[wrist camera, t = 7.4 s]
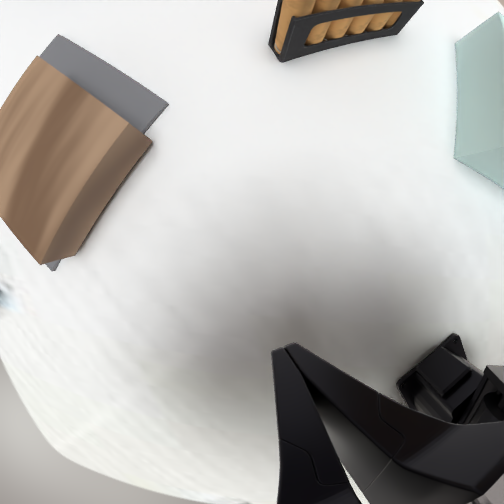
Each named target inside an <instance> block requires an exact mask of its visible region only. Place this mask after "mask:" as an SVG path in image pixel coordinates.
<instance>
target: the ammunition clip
mask: <svg viewBox="0 0 504 504" xmlns="http://www.w3.org/2000/svg"><path fill="white" fill-rule="evenodd" d="M423 4H424V2H423V1H422V0H278V3H277V7H276V12H275V16H274V21H273V25H272V30H271V34H270V39H269V45H270V47H271V48H272V50H273V51H274V53H275V54H276V56H277V58H278V59H279V61H280V62H286V61H289V60H292V59H295V58H298V57H302V56H305V55H308V54H312V53H315V52H319V51H322V50H326V49H330V48H334V47H338V46H342V45H346V44H350V43H355V42H359V41H364V40H369V39H374V38H380V37H385V36H391V35H397V34H398V33H399V32H400V31H401V29H402V28H403V27H404V26H405V25H406V23H407V22H408V21H409V20H410V19H411V18H412V16H413V15H414V14H415V13H416V12H417V11H418V9H419V8H420V7H421V6H422V5H423Z"/></svg>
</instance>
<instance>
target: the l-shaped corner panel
mask: <svg viewBox="0 0 504 504" xmlns="http://www.w3.org/2000/svg"><path fill="white" fill-rule="evenodd" d="M455 49H456V64H457V122H456V138H455V150H454V159H456V160H458V161H460V162H461V163H463V164H465V165H466V166H468V167H470V168H472V169H473V170H475V171H477V172H478V173H480V174H481V175H483V176H485V177H486V178H488V179H489V180H491V181H492V182H494V183H495V184H497V185H498V186H500V187H501V188H503V189H504V16H503V15H502V14H501V13H499V12H497V13H496V14H495V15H493V16H492V17H490V18H489V19H488V20H486V21H485V22H483V23H482V24H481V25H479V26H478V27H476V28H475V29H474V30H472V31H471V32H470V33H468V34H467V35H466V36H464V37H463V38H462V39H460V40H459V41H458V42H456V43H455Z"/></svg>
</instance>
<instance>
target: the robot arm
mask: <svg viewBox="0 0 504 504" xmlns="http://www.w3.org/2000/svg"><path fill="white" fill-rule="evenodd" d="M454 339H455V340H454ZM271 357H272V368H273V379H274V391H275V403H276V415H277V427H278V439H279V456H280V472H279V487H278V497H277V504H362V503H361V501H360V500H359V499H358V497H357V496H356V494H355V492H354V490H353V488H352V486H351V484H350V483H349V479H348V477H347V475H346V473H345V471H344V468H343V466H342V464H343V465H344V467H345V468H346V470H347V471H348V473H349V474H350V476H351V477H352V478H353V480H354V481H355V483H356V484H357V486H358V487H359V489H360V490H361V491H362V492H363V494H364V496H365V497H366V499H367V500H368V502H369V503H370V504H504V366H494V365H487V366H486V368H485V370H484V372H482V371H481V370H479V369H478V368H477V367H475V366H474V365H472V364H471V363H470V362H468V361H467V358H466V355H465V351H464V348H463V345H462V342H461V339H460V337H459V335H457V334H452V335H451V336H450V337H449V338H448V339H447V340H446V341H445V342H443V343H442V344H441V345H440V346H439V347H438V348H437V349H436V350H435V351H434V352H432V353H431V354H430V355H429V356H428V357H427V358H426V359H424V360H423V361H422V362H421V363H420V364H418V365H417V366H416V367H415V368H414V369H412V370H411V371H410V372H409V373H407V374H406V375H405V376H404V377H402V378H401V379H400V380H399V381H398V382H397V388H398V390H399V392H400V393H401V395H402V397H403V399H404V400H405V402H406V404H407V406H408V407H406V406H404V405H402V404H400V403H398V402H396V401H394V400H392V399H390V398H388V397H386V396H385V395H383V394H381V393H379V394H378V392H377V391H376V390H374V389H372V388H370V387H369V386H367V385H365V384H363V383H362V382H360V381H358V380H357V379H355V378H353V377H351V376H350V375H348V374H346V373H345V372H343V371H341V370H340V369H338V368H336V367H335V366H333V365H331V364H330V363H328V362H326V361H325V360H323V359H322V358H320V357H318V356H317V355H315V354H313V353H312V352H310V351H309V350H307V349H305V348H304V347H302V346H301V345H299V344H297V343H291V344H288V345H286V346H284V348H283V347H280V348H278V349H275V350H272V351H271ZM403 383H404V384H403ZM402 384H403V385H402ZM340 461H341V462H342V464H341V462H340Z"/></svg>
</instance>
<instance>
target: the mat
mask: <svg viewBox="0 0 504 504" xmlns="http://www.w3.org/2000/svg"><path fill="white" fill-rule="evenodd" d="M40 58H41V59H43V60H44V61H46V62H47V63H48V64H50V65H51V66H53V67H54V68H55V69H57V70H58V71H60V72H61V73H62V74H64V75H65V76H67V77H68V78H69V79H71V80H72V81H73V82H75V83H76V84H77V85H79V86H80V87H82V88H83V89H84V90H86V91H87V92H88V93H90V94H91V95H92V96H94V97H95V98H96V99H98V100H99V101H100V102H102V103H103V104H104V105H106V106H107V107H109V108H110V109H111V110H112V111H114V112H115V113H116V114H118V115H119V116H120V117H122V118H123V119H124V120H126V121H127V122H128V123H130V124H131V125H132V126H134V127H135V128H136V129H138V130H139V131H140V132H141V133H143V134H144V133H145V132H146V130H147V129H148V128H149V127H150V126H151V124H152V123H153V122H154V121H155V120H156V118H157V117H158V116H159V115H160V114H161V113H162V111H163V110H164V109H165V108H166V107H167V106H168V105H169V104H168V103H167V102H166V101H165V100H163V99H162V98H160V97H159V96H157V95H156V94H154V93H153V92H151V91H150V90H148V89H147V88H145V87H144V86H142V85H141V84H139V83H138V82H136V81H135V80H133V79H132V78H130V77H129V76H127V75H126V74H124V73H123V72H121V71H119V70H118V69H116V68H115V67H113V66H112V65H110V64H108V63H107V62H105V61H104V60H102V59H100V58H99V57H97V56H95V55H94V54H92V53H90V52H89V51H87V50H85V49H84V48H82V47H80V46H79V45H77V44H75V43H73V42H72V41H70V40H68V39H66V38H65V37H63V36H61V35H59V34H58V35H57V36H56V37H55V38H54V40H53V41H52V42H51V43H50V44H49V45H48V47H47V48H46V49H45V50H44V52H43V53H42V54H41V55H40ZM60 260H61V259H60ZM60 260H56V261H53V262H49V263H45V264H46V265H47V267H48V268H49V269H50V270H51V271H55V270H56V268H57V266H58V264H59V262H60Z"/></svg>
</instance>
